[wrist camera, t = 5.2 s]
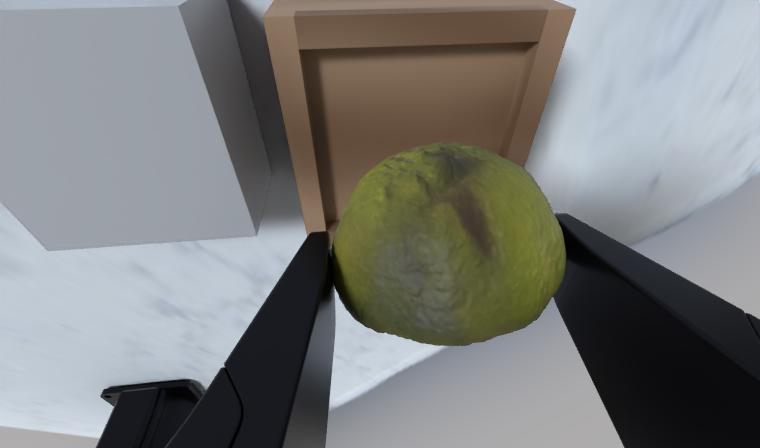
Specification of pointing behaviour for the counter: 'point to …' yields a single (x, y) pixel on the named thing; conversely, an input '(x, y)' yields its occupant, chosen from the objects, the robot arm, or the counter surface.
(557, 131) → the counter surface
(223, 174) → the grey stone block
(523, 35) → the brown hollow rimmed box
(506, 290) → the lime
